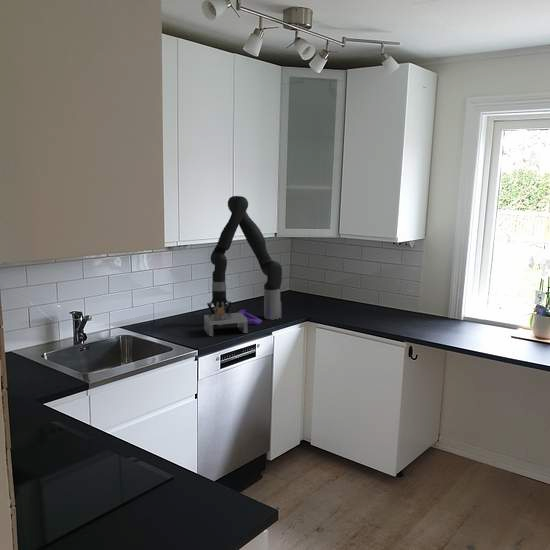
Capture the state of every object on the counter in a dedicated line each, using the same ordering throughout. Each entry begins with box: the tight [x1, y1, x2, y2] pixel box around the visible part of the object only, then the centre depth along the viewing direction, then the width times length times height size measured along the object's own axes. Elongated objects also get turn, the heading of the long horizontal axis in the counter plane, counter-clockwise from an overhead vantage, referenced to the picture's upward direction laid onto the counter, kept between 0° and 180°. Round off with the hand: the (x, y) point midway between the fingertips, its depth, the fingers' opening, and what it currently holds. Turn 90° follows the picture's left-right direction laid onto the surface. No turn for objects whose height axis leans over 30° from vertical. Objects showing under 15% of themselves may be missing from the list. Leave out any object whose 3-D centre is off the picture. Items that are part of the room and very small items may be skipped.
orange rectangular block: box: [217, 307, 223, 327], centre depth 303 cm, size 3×4×10 cm, turn 17°
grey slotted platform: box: [203, 312, 249, 337], centre depth 289 cm, size 20×14×8 cm
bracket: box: [237, 309, 263, 325], centre depth 308 cm, size 12×7×7 cm, turn 72°
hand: (219, 320), depth 304 cm, fingers closed on orange rectangular block, 3 cm apart
